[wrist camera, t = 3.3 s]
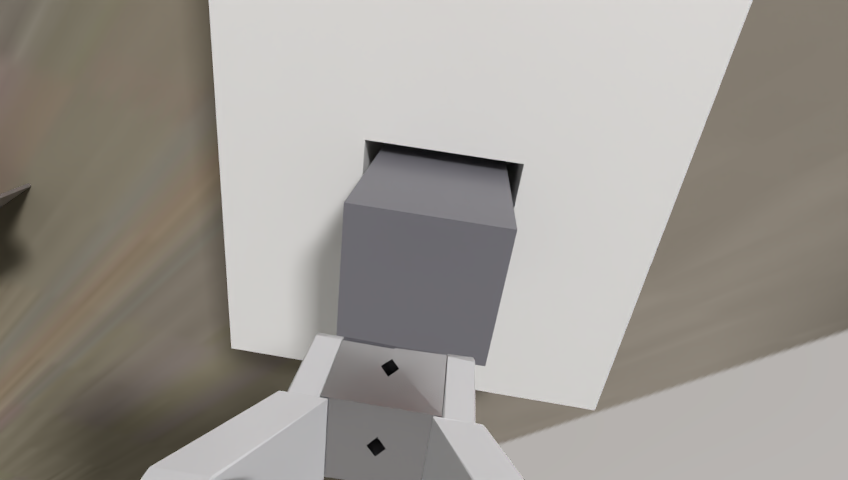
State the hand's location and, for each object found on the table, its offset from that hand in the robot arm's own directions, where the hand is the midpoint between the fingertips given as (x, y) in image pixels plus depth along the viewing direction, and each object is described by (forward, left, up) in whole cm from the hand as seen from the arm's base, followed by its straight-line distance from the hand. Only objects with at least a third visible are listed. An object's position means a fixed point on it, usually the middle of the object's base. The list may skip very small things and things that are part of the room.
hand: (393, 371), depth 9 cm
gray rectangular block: (0, 0, -8) cm, 8 cm away
